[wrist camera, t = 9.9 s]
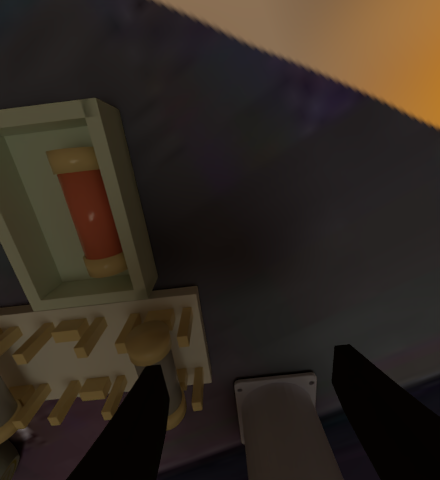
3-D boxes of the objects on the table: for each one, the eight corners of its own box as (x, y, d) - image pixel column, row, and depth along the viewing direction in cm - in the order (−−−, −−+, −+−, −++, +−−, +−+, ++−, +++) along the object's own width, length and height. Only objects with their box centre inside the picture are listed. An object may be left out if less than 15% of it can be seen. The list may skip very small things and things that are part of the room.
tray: (158, 276, 18) (148, 298, 16) (61, 287, 19) (33, 311, 16) (118, 109, 14) (95, 97, 11) (-6, 124, 14) (-60, 117, 12)
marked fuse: (112, 257, 18) (142, 259, 16) (78, 275, 15) (111, 279, 14) (80, 152, 15) (113, 146, 14) (33, 153, 12) (69, 146, 11)
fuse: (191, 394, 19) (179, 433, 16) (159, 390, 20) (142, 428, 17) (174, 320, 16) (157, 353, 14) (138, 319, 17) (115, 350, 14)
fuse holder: (211, 371, 22) (211, 419, 18) (10, 392, 22) (-36, 444, 18) (197, 285, 19) (192, 321, 15) (-40, 312, 19) (-108, 353, 15)
